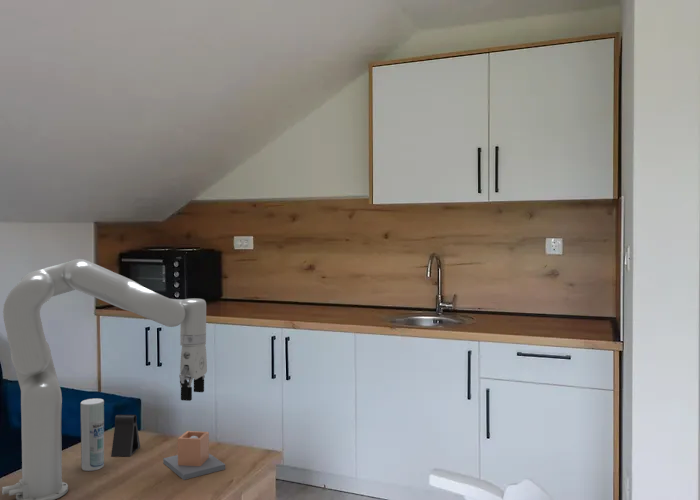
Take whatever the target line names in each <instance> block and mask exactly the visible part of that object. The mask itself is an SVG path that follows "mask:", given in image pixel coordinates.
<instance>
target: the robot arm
mask: <svg viewBox="0 0 700 500" xmlns="http://www.w3.org/2000/svg"><path fill="white" fill-rule="evenodd" d="M75 290H76V291H79V292H80V293H82V294H85V295H88V296H89V297H90V296H91V297H94V298H96V299H98V300H101V301H103V302H104V303H107V304H109V305H112V306H114V307H117V308H119V309H122V310H124V311H128V312H132V313H134V314H136V315H138V316H141V317H144V318H145V319H148V320H151V321H153V322H156V323H158V324H160V325H162V326H165V327H168V328H174V327H177V326H179V327H180V330H179V331H180V336H179V338H180V339H179V340H180V342H179V344H180V346H181V350H180V351H181V353H180V365H179V368H180V369H179V384H180V385H179V386H180V401H189V402H191V401H192V400H193V392H194V393H204V392H205V378H206V377H205V375H206V374H207V372H208V362H207V361H208V359H207V358H208V356H207V349H206V347H207V346H206V345H207V302H206V300H205V299H204V298H195V297H194V298H185V299H178V298H177V299H176V298H169V297H167V296H164V295H163V294H160V293H158V292H155V291H153V290H152V289H150V288H147V287H144V286H143V285H141V283H140V284H139V282H137V281H134V280H133V279H131V278H128V277H126V276H124V275H121V274H119V273H118V272H115V271H114V272H113V271H112V270H111V269H107V268H105V267H103V266H101V265H98V264H96V263H95V262H91V261H89V260H88V259H83V258H75V259H72V260H70V261H67V262H62V263H59V264H55V265H51V266H47V267H44V268H41V269H37V270H34V271H33V270H32V271H30V272H28V273H26V274H25V275H24V276H23V277H22V278H21V280H20V281H19V282H18V283H17V284H16V285H15V286H14V287H12V289H11V290H10V291H9V293H8V294H7V296H6V299H5V301H4V304H3V311H2V313H3V314H2V316H3V317H2V318H3V322H4V327H5V331H6V336H7V340H8V344H9V348H10V349H9V350H10V355H11V356H10V357H11V362H12V365H13V367H14V369H15V370H14V371H15V374H16V378H17V381H18V385H19V388H20V413H21V414H20V415H21V416H20V417H21V462H22V463H21V469H22V470H21V472H22V473H21V478H19V481H18V482H16V483H15V484H13V485H6V486H2V487H1V492H2V494H1V495H3V496H4V495H7V494H8V496H9V497H10V496H15V499H16V500H57V499H59V498H61V497H63V496H65V495H66V494H67V493H68V491H69V485H68V483H67V482H65V481H63V475H62V474H63V472H62V471H63V469H62V468H63V465H62V463H63V462H62V461H63V460H62V458H63V457H62V454H63V453H62V447H63V446H62V441H63V440H62V408H63V404H62V403H63V396H62V389H61V386H60V383H59V380H58V376H57V373H56V368H55V364H54V359H53V356H52V352H51V347H50V344H49V343H48V341H47V340H46V339H47V338H46V336H45V332H44V328H43V322H42V318H41V309H42V307H43V305H44V304H45V303H47V302H48V301H50V299H52V298H53V297H56V296H60V295H63V294H66V293H70V292H71V291H75ZM192 383H193V387H192Z"/></svg>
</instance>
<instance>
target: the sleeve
mask: <svg viewBox="0 0 700 500" xmlns="http://www.w3.org/2000/svg"><path fill="white" fill-rule="evenodd" d="M191 436H197V437H198V438H190V437H191ZM209 441H210V432H209V431H199V430H197V431H196V430H195V431H194V430H192V431H191V430H187V431H185V432H184V433H183V434H181V435H180V436H179V437H178V438H177V455H178V465H185V466H201V465H202V464H203V463H204V462H205V461H206V460H207V459H208V458H209V454H210V442H209Z"/></svg>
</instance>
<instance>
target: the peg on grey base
mask: <svg viewBox="0 0 700 500" xmlns="http://www.w3.org/2000/svg"><path fill="white" fill-rule="evenodd" d="M190 438H198V437H197V436H191V437H190ZM162 460H163V461H162V463H163V464H164V465H165V466H167V468H169V469H170V470H171V471H172V472H173V473H175V474H176V475H177V476H179V478H180V479H182V480H183V481H185V480H188V479H193V478H196V477H201V476H205V475H208V474H211V473H217V472H220V471H223V470H226V463H224V462H223V461H221V460H220V459H218V458H217V457H216V456H215V455H213V454H211V453H209V458H208V459H207V460H206V461H205V462H204V463H203V464H202V465H201V466H185V465H178V454H177V455H172V456H168V457H163V459H162Z"/></svg>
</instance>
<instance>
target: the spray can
mask: <svg viewBox="0 0 700 500" xmlns="http://www.w3.org/2000/svg"><path fill="white" fill-rule="evenodd" d="M104 405H105V400H104V399H103V398H87V399H84V400H82V401H81V402H80V442H81V443H80V448H81V449H80V451H81V453H80V454H81V455H80V456H81V459H80V460H81V469H82V471H85V472H88V471H89V472H91V471H97V470H100V469H102V468H103V467H104V466H105V406H104Z"/></svg>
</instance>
